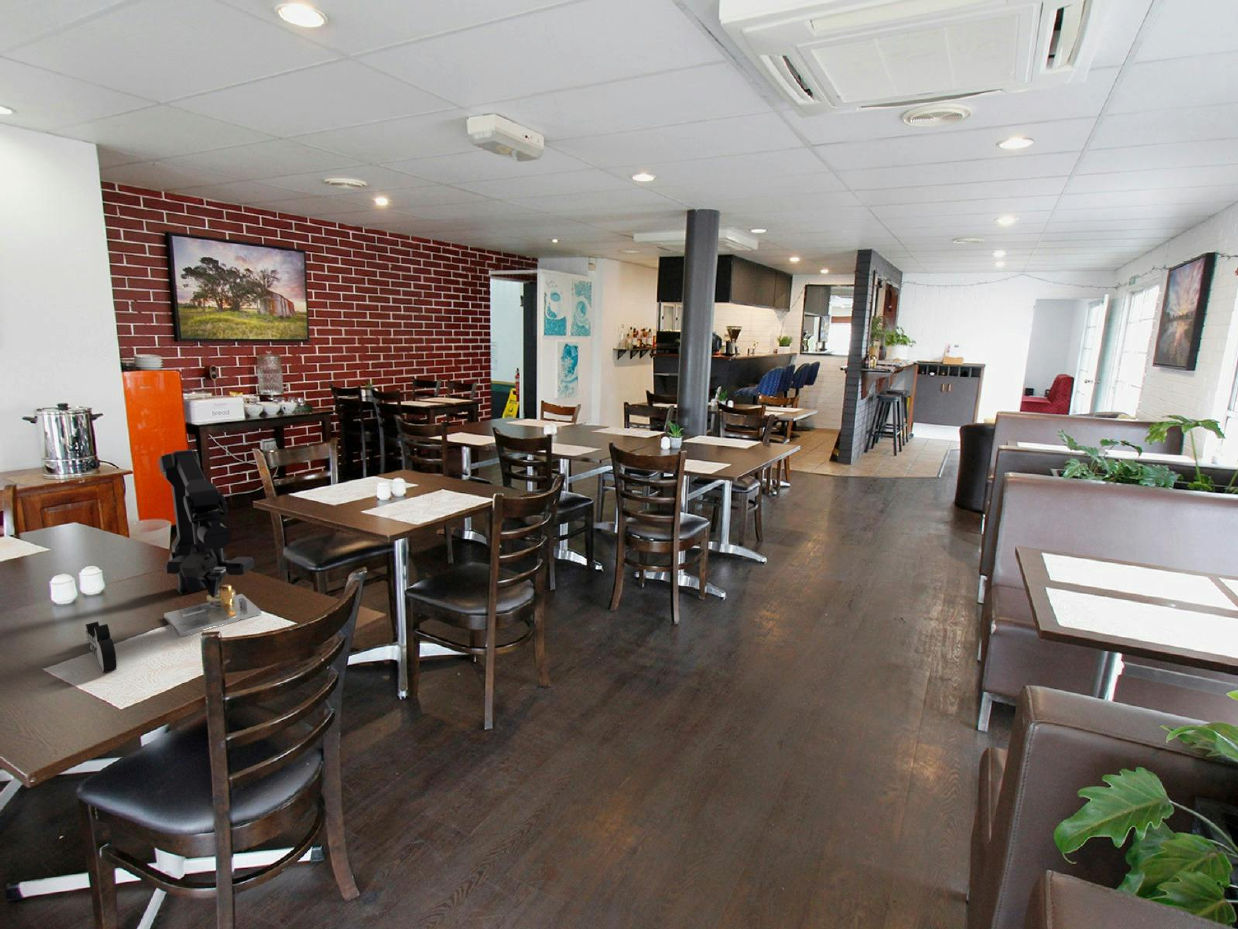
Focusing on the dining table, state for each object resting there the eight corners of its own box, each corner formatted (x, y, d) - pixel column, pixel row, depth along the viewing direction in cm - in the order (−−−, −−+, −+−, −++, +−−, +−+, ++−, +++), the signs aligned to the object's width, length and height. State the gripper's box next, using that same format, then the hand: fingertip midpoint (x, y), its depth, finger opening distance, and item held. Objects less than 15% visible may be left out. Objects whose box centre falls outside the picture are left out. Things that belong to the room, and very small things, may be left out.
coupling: (205, 596, 169) (202, 576, 168) (232, 590, 173) (230, 570, 172) (213, 612, 160) (211, 591, 159) (243, 606, 164) (240, 585, 163)
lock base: (164, 617, 164) (162, 604, 163) (242, 597, 177) (241, 585, 176) (180, 637, 154) (178, 623, 153) (261, 614, 167) (260, 601, 166)
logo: (118, 671, 137) (110, 626, 137) (105, 675, 136) (97, 629, 135) (103, 656, 152) (95, 615, 151) (91, 660, 150) (83, 618, 150)
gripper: (146, 548, 151) (154, 610, 154) (227, 550, 151) (233, 611, 155) (177, 533, 161) (184, 591, 165) (252, 535, 162) (258, 592, 165)
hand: (214, 596), depth 162 cm, fingers closed
